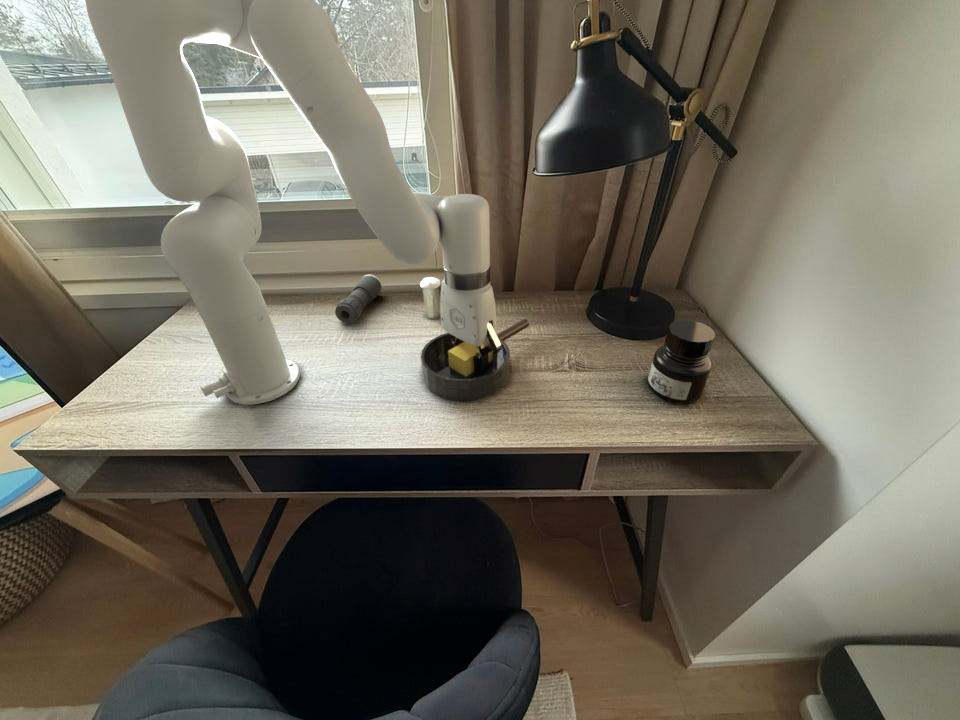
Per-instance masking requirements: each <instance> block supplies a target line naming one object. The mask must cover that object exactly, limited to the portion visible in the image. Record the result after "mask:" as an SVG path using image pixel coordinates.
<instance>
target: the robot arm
mask: <svg viewBox="0 0 960 720" xmlns="http://www.w3.org/2000/svg"><path fill="white" fill-rule="evenodd" d="M85 6H86V12H87V15H88V19H89V22H90V25H91V28H92V30H93V33H94V36H95V38H96V41H97V44H98V46H99V48H100V50H101V53H102V56H103V57H104V60H105V63H106V64H107V68H108V69H109V72H110V74H111V77H112V80H113V83H114V86H115V89H116V91H117V94H118V98H119V101H120V104H121V108H122V110H123V113H124V115H125V118H126V121H127V124H128V127H129V131H130V132H131V135H132V139H133V142H134V144H135V147H136V150H137V153H138V156H139V158H140V161H141V164H142V166H143V169H144V171H145V174H146V176H147V177H148V179H149V181H150V182H151V184H152V185H153V187H154V188H155V189H156V190H157V191H158V192H159V193H161V194H162V195H164V196H165V197H167V198H168V199H171V200H173V201H176V202H181V203H190V202H195V204H192V205H191V206H188V208H185V209H184V210H182V211H180V212H179V213H178V214H176V215H175V216H174V217H172V218H171V219H170V220H169V221H168V222H167V224H166V225H165V226H164V228H163V230H162V232H161V237H160V248H161V253H162V254H163V256H164V259H165V261H166V263H167V264H168V266H169V268H171V270H172V271H173V273H174V274H175V275H176V276H177V278H178V279H179V281H180V282H181V283H182V284H183V286H184V288H185V290H186V291H187V293H188V295H189V296H190V298H191V300H192V302H193V304H194V307H196V310H197V312H198V314H199V316H200V318H201V320H202V321H203V323H204V326H205V327H206V330H207V332H208V335H209V336H210V339H211V340H212V343H213V345H214V347H215V349H216V351H217V353H218V356H219V357H220V360H221V362H222V364H223V366H224V368H222V369H221V371H222V375H220V376H218V379H215V380H213V381H209V382H207V383H205V384H202V385H200V386H199V388H200V390H201V392H202V394H203V395H204V396H205V397H208V396H210V395H212V394H214V396H215V398H216V399H219V398H222V397H223V396H226V395H227V398H228V399H229V400H230V401H232V402H234V403H235V404H239V405H246V406H247V405H248V406H249V405H250V406H251V405H253V406H254V405H260V404H264V403H268V402H271V401H274V400H276V399H279V398H280V397H282V396H284V395H286V394H287V393H289V392H290V391H291V390H292V389H293V388H294V387H295V386H296V385H297V383H298V382H299V380H300V377H301V372H300V368H299V366H298V365H297V364H296V363H295V362H293V361H291V360H290V359H287V358H286V356H285V353H284V350H283V348H282V345H281V342H280V340H279V337H278V334H277V332H276V328H275V326H274V323H273V320H272V318H271V315H270V312H269V309H268V307H267V304H266V300H265V299H264V296H263V293H262V291H261V288H260V286H259V284H258V282H257V281H256V280H255V278H254V277H253V275H252V274H251V273H250V272H249V270H248V269H247V267H246V265H245V262H244V258H245V257H246V255H247V254H248V253H249V252H250V251H251V250H252V249H253V248H254V247H255V246H256V245H257V243H258V242H259V240H260V238H261V235H262V229H263V227H262V217H261V213H260V207H259V203H258V199H257V195H256V189H255V184H254V180H253V176H252V171H251V168H250V163H249V159H248V155H247V153H246V151H245V148H244V147H243V145H242V143H241V141H240V140H239V138H238V137H237V136H236V134H235V133H234V132H233V131H232V130H231V129H230V128H229V127H228V126H227V125H225V124H224V123H223V122H221V121H219V120H218V119H215V118H213V117H210V116H207V115H206V113H205V108H204V105H203V101H202V95H201V91H200V87H199V86H198V82H197V80H196V78H195V75H194V73H193V71H192V69H191V67H190V65H189V64H188V62H187V60H186V59H185V58H186V57H185V56H184V52H183V47H184V45H186V44H187V43H200V44H211V45H212V44H214V45H221V46H223V47H227V48H230V49H234V50H235V51H239V52H241V53H243V54H247V55H250V56H253V57H256V58H258V59H261V60H262V61H263V63H264V64H265V66H266V68H268V70H269V71H270V73H271V75H272V76H273V77H274V78H275V80H276V81H277V82H278V84H279V85H280V87H281V88H282V89H283V91H284V93H285V94H286V95H287V96H288V97H289V99H290V100H291V102H292V103H293V104H294V106H295V107H296V109H297V110H298V112H299V113H300V114H301V116H302V117H303V119H304V120H305V121H306V123H307V124H308V125H309V127H310V129H311V130H312V131H313V133H314V134H315V135H316V137H317V138H318V140H319V141H320V143H321V144H322V145H323V147H324V148H325V151H326V152H327V153H328V155H329V157H330V159H331V162H332V164H333V167H334V169H335V171H336V173H337V174H338V176H339V178H340V180H341V182H342V184H343V186H344V188H345V190H346V192H347V193H348V195H349V197H350V199H351V201H352V203H353V205H354V206H355V208H356V210H357V211H358V213H359V215H360V216H361V218H362V219H363V220H364V222H365V223H366V224H367V226H368V227H369V229H370V230H371V231H372V232H373V234H374V235H375V237H376V238H377V239H378V241H379V242H380V243H381V245H382V246H383V247H384V248H385V250H386V251H387V252H388V253H389V254H390V255H391V256H392V257H394V258H395V259H396V260H398V261H400V262H402V263H405V264H409V265H418V264H423V263H425V262H427V261H429V259H431V258H432V257H433V256H434V255H435V253H436V251H437V250H438V247H439V243H440V244H441V249H442V250H441V251H442V265H443V279H442V281H441V295H440V309H441V316H440V324H441V327H442V329H443V330H444V331H445V333H449V334H450V336H451V342H452V343H453V344H454V345H453V347H456V346H458V345H459V344H461V343H463V342H466V343H468V344H470V345H472V346H474V348H475V353H476V355H475V356H474V373H475V374H477V375H478V374H479V373H481V372H483V371H484V370H486V369H487V368H488V353H489V352H493V351H496V350H498V349H499V348H501V347H502V345H501V343H500V341H499V339H498V337H497V329H498V328H497V323H498V322H497V307H496V300H495V294H494V290H493V286H492V285H491V240H490V239H491V236H490V233H491V231H490V230H491V229H490V228H491V227H490V224H491V222H490V217H491V216H490V205H489V202H488V200H487V199H486V198H485V197H483V196H481V195H478V194H472V193H458V194H453V195H449V196H448V195H435V194H428V193H419V192H417V193H416V192H413V191H412V189H411V187H410V185H409V184H408V182H407V181H406V179H405V178H404V175H403V173H402V171H401V170H400V168H399V165H398V163H397V160H396V159H395V156H394V154H393V151H392V148H391V145H390V141H389V136H388V133H387V130H386V129H387V128H386V125H385V123H384V121H383V117H382V116H381V113H380V111H379V109H378V108H377V107H376V105H375V103H374V102H373V100H372V99H371V97H370V96H369V94H368V92H367V90H366V89H365V88H364V86H363V84H362V83H361V81H360V79H359V77H358V76H357V75H356V73H355V71H354V70H353V68H352V66H351V65H350V63H349V61H348V60H347V58H346V57H345V55H344V53H343V51H342V50H341V48H340V46H339V39H338V34H337V30H336V27H335V24H334V22H333V20H332V18H331V16H330V15H329V14H328V12H327V11H326V9H324V7H323V6H321V4H319V3H318V1H316V0H85ZM482 344H484V348H482V349H481V345H482Z"/></svg>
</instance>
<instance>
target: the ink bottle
mask: <svg viewBox="0 0 960 720" xmlns="http://www.w3.org/2000/svg"><path fill="white" fill-rule="evenodd" d="M715 338H716V333H715V331H714V330H713V329H712V328H711V327H710V326H708V325H706V324H705V323H702V322H699V321H696V320H689V319H681V320H679V319H678V320H675V321H672V322H671V323H670V324H669V325H668V329H667V333H666V336H665V339H664V340H665V342H664V345H662V346H660V347H659V348H657V349H656V351H655V352H654V355H653V357H652V362H651V366H650V368H649V373H648V377H647V386H648V388H649V390H650V391H651V392H652V393H653V394H654V395H655V396H657V397H658V398H660V399H662V400H664V401H666V402H669V403H672V404H684V405H685V404H690V403H693V402H696V401H698V400H700V398H701V397H702V395H703V392H704V389H705V387H706V384H707V381H708V379H709V376H710V374H711V371H712V366H713V364H712V360H711V358H710V356H709V355H710V352H711V349H712V347H713V344H714V341H715Z"/></svg>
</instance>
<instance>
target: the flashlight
mask: <svg viewBox="0 0 960 720" xmlns="http://www.w3.org/2000/svg"><path fill="white" fill-rule="evenodd" d="M382 289H383V284H382V282H381V280H380V278H378V277H377V276H375V275H374V274H365V275H363V276H362V277H361V278H360V280H358V281H357V283H356V285H355V286H354V287H353V289H352V290H351V291H352V292H351V293H350V294H349V295H347V296H346V297H345V298H343V299H341V300H340V301H339V302H338V303H337V304H336V306H335V310H334V314H335V316H336V318H337V319H338V320H339V321H340V322H342V323H343V324H347V325H349V324H352V323H355V322H356V321H357V320H358V319H359V318H360V317H361V315H362V312H363V310H364V309H365V307H366V306H367V305H369V304H371V303H372V301H373V300H374V299H376V298H377V296H378V295H379V294H380V293H381V292H382Z"/></svg>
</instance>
